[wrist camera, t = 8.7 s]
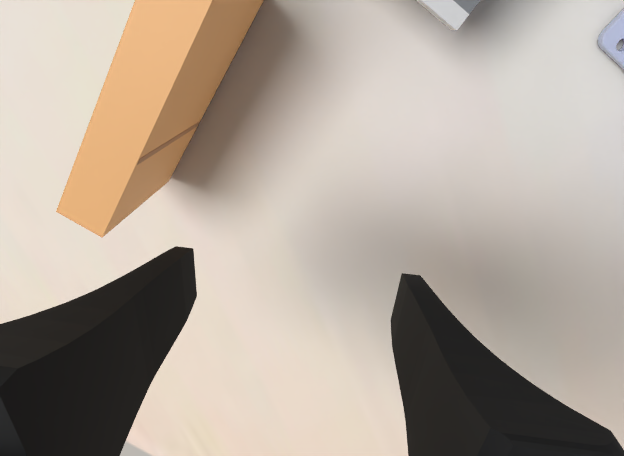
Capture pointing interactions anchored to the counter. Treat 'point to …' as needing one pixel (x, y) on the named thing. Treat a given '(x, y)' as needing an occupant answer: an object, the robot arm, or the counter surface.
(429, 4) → the dispenser
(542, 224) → the counter surface
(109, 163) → the orange rectangular block
